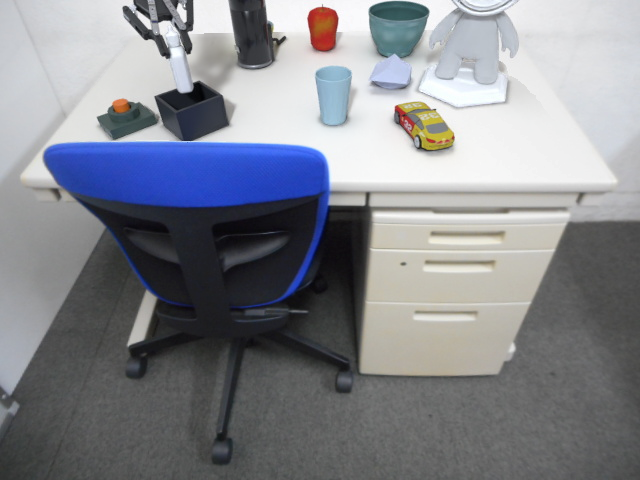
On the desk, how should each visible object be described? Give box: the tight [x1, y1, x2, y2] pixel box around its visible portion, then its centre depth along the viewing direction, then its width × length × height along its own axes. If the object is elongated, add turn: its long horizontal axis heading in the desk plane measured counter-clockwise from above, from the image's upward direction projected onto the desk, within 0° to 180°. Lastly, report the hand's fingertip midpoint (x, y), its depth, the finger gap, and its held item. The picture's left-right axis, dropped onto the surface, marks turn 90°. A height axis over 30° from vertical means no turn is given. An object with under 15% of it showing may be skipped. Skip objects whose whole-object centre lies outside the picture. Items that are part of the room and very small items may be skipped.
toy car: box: [393, 101, 456, 151], centre depth 85 cm, size 8×17×5 cm, turn 16°
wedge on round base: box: [368, 54, 413, 90], centre depth 101 cm, size 9×7×13 cm
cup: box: [314, 65, 353, 126], centre depth 88 cm, size 8×8×10 cm
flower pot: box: [367, 0, 431, 58], centre depth 114 cm, size 16×16×11 cm
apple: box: [306, 3, 340, 52], centre depth 116 cm, size 9×8×12 cm
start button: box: [111, 98, 130, 113], centre depth 89 cm, size 3×3×2 cm
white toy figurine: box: [418, 0, 520, 108], centre depth 89 cm, size 20×23×35 cm
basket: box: [153, 80, 230, 142], centre depth 89 cm, size 11×10×7 cm
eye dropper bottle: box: [164, 24, 194, 93], centre depth 81 cm, size 4×6×12 cm
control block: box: [96, 100, 158, 140], centre depth 91 cm, size 10×8×4 cm
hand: (178, 54), depth 79 cm, fingers closed on eye dropper bottle, 3 cm apart
